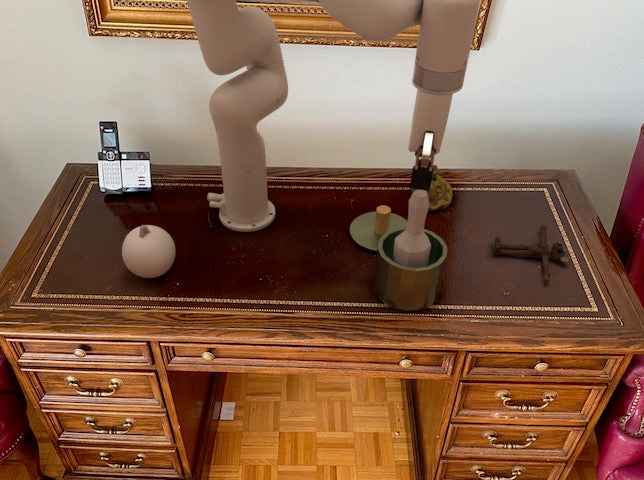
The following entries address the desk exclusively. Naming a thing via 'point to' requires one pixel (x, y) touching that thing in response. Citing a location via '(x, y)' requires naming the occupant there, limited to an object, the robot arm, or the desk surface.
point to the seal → (438, 192)
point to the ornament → (148, 251)
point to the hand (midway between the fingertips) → (421, 172)
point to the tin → (408, 274)
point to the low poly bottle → (414, 234)
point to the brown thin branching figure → (534, 251)
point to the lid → (374, 227)
